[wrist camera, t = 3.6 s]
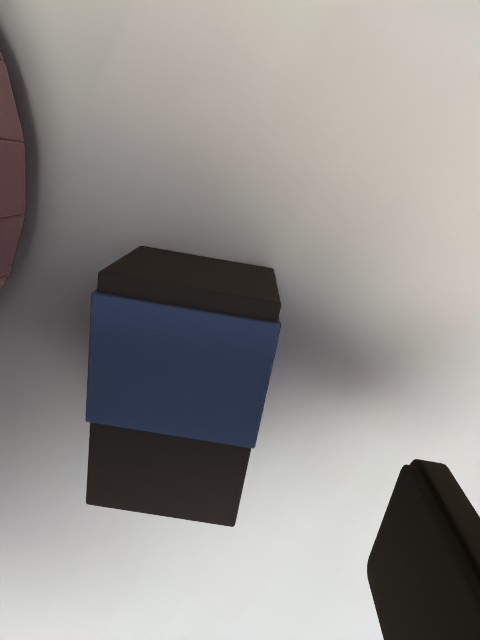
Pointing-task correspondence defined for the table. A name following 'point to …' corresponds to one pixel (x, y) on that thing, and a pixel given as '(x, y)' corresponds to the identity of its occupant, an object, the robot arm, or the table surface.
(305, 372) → the table surface
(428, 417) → the table surface
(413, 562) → the robot arm
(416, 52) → the table surface
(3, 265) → the bowl
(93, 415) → the eraser
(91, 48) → the table surface
